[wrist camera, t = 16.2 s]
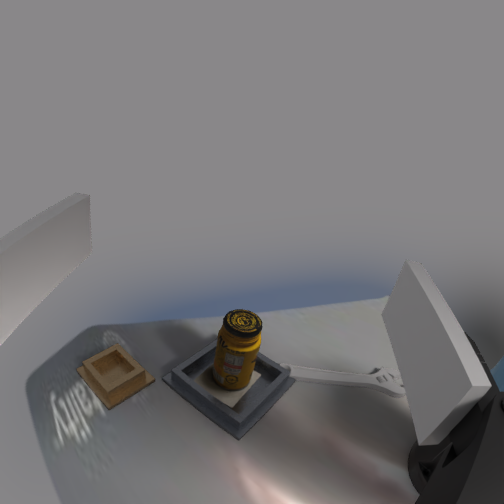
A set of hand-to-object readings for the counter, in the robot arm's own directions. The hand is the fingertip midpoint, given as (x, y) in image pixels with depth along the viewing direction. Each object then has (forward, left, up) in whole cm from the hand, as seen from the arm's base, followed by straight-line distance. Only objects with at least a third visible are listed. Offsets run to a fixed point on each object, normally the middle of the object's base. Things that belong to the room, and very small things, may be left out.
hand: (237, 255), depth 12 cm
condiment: (+11, -19, -34) cm, 40 cm away
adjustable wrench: (-4, -34, -35) cm, 48 cm away
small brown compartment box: (+23, -6, -34) cm, 41 cm away
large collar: (+10, -19, -34) cm, 40 cm away
